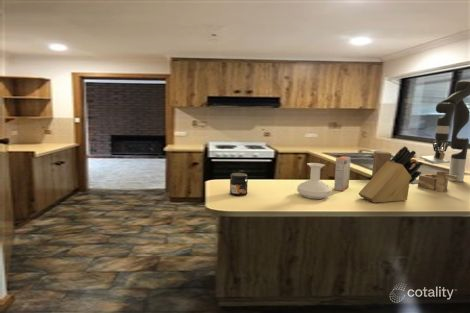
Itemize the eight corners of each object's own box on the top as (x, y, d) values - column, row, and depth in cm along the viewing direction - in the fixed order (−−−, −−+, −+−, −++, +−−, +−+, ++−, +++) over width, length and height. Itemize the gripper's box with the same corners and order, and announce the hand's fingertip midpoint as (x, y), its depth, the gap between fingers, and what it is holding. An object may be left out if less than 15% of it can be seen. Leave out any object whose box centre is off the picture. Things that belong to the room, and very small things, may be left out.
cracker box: (339, 186, 210) (342, 155, 207) (348, 187, 207) (351, 156, 204) (333, 190, 199) (335, 158, 196) (342, 191, 195) (345, 159, 192)
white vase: (317, 190, 196) (319, 161, 193) (338, 199, 177) (341, 166, 175) (290, 193, 189) (292, 162, 186) (308, 202, 171) (311, 168, 168)
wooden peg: (439, 175, 206) (439, 171, 206) (458, 179, 195) (459, 175, 194) (436, 176, 205) (436, 171, 205) (455, 180, 194) (456, 175, 193)
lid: (433, 158, 219) (436, 149, 217) (449, 164, 209) (452, 154, 207) (419, 159, 213) (422, 150, 211) (434, 165, 203) (437, 156, 201)
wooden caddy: (431, 184, 221) (433, 167, 219) (454, 190, 206) (456, 172, 204) (417, 186, 215) (419, 168, 213) (440, 192, 201) (443, 173, 199)
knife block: (420, 200, 181) (426, 147, 176) (371, 204, 171) (376, 148, 166) (404, 194, 192) (410, 145, 187) (357, 198, 181) (362, 146, 177)
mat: (411, 178, 240) (411, 178, 240) (427, 182, 228) (427, 181, 228) (397, 180, 234) (397, 179, 234) (412, 184, 222) (413, 183, 222)
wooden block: (388, 179, 235) (391, 153, 232) (374, 178, 237) (377, 152, 234) (385, 176, 245) (387, 151, 242) (371, 175, 247) (374, 151, 244)
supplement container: (231, 197, 177) (231, 176, 176) (228, 192, 188) (228, 172, 186) (249, 196, 179) (249, 176, 178) (245, 191, 190) (245, 172, 188)
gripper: (440, 133, 203) (437, 159, 205) (454, 132, 208) (451, 158, 211) (429, 132, 209) (427, 157, 212) (443, 132, 215) (440, 156, 218)
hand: (439, 157), depth 211 cm, fingers closed on lid, 2 cm apart
